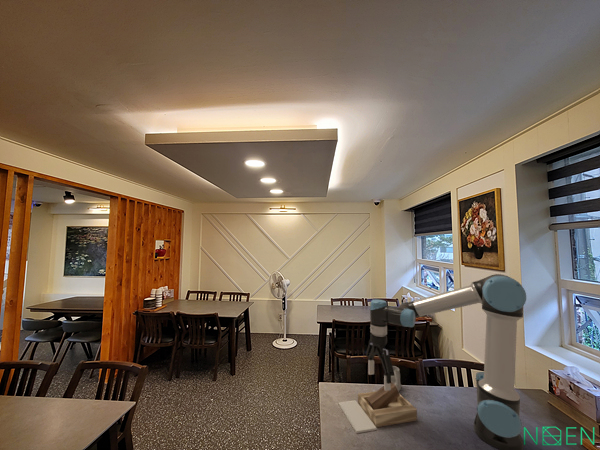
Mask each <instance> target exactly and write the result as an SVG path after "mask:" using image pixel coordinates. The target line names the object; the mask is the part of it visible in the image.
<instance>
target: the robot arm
mask: <svg viewBox="0 0 600 450" xmlns="http://www.w3.org/2000/svg"><path fill="white" fill-rule="evenodd" d="M526 301H527V292H526V290H525V288H524V287H523V286H522V284H521V283H520V282H519V281H517V280H515V278H512V277H510V276H508V275H505V274H501V273H500V274H491V275H489V276H487V277H484V278H481V279H479V280H475V281H472V282H471V283H470V284H469V285H466V286H463V287H460V288H455V289H453V290H452V289H451V290H449V291H445V292H441V293H438V294H437V293H436V294H433V295H431V296H427V297H426V296H425V297H423V298H420V299H415V300H413V301H412V300H411V301H406V302H403V303H401V304H400V305H399V306H398V307H397V306H390V305H388V304H387V301H386V300H383V299H372V300H371V301H370V306H369V308H370V309H369V317H370V322H369V323H370V327H369V329H370V338H369V340H368V345H367V349H366V352H365V357H366V358H367V360H368V361H367V362H368V365H367V366H368V372H367V373H368V375H369V376H371V375H375V360H374V359H375V357H376V355H377V356H378V359H379V360H380V362H381V364H382V369H383V371H384V373H383V377H384V378H383V386H384V390H385V391H389V390H391V376H394V371H393V366H394V365H393V363H392V359H391V353H390V350H389V349H386V345H388V324H392V325H396V326H401V327H405V328H407V327H408V328H414V327H415V324H416V318H420V317H423V316H428V315H433V314H437V313H442V312H445V311H449V310H455V309H459V308H464V307H467V306H471V305H478V304H481V309H482V311H483V312H484V314H485V315H486V322H485V339H484V340H485V342H484V343H485V344H484V362H483V363H484V364H483V367H484V368H483V371H478V372H476V374H475V383H476V385H475V386H476V399H477V401H476V403H477V404H476V405H477V406H476V415H475V417H474V421H473V430H474V433H475V434H476V436H477V437H478V438H479V439H481V440H482V441H483V442H484V443H486V444H488V445H489V446H491V447H494V448H496V449H498V450H524V442H523V441H524V440H523V438H522V436H521V434H520V433H521V431H522V427H523V426H522V425H523V423H522V420H521V417H520V414H521V413H520V412H521V411H520V410H521V409H520V408H521V407H520V406H521V405H520V404H521V397H520V394H519V393H518V392H517V391H516V389H515V385H516V384H515V383H516V382H515V381H516V358H517V357H516V356H517V331H518V330H517V327H518V321H519V320H521V319H522V318H524V306H525V304H526Z"/></svg>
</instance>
